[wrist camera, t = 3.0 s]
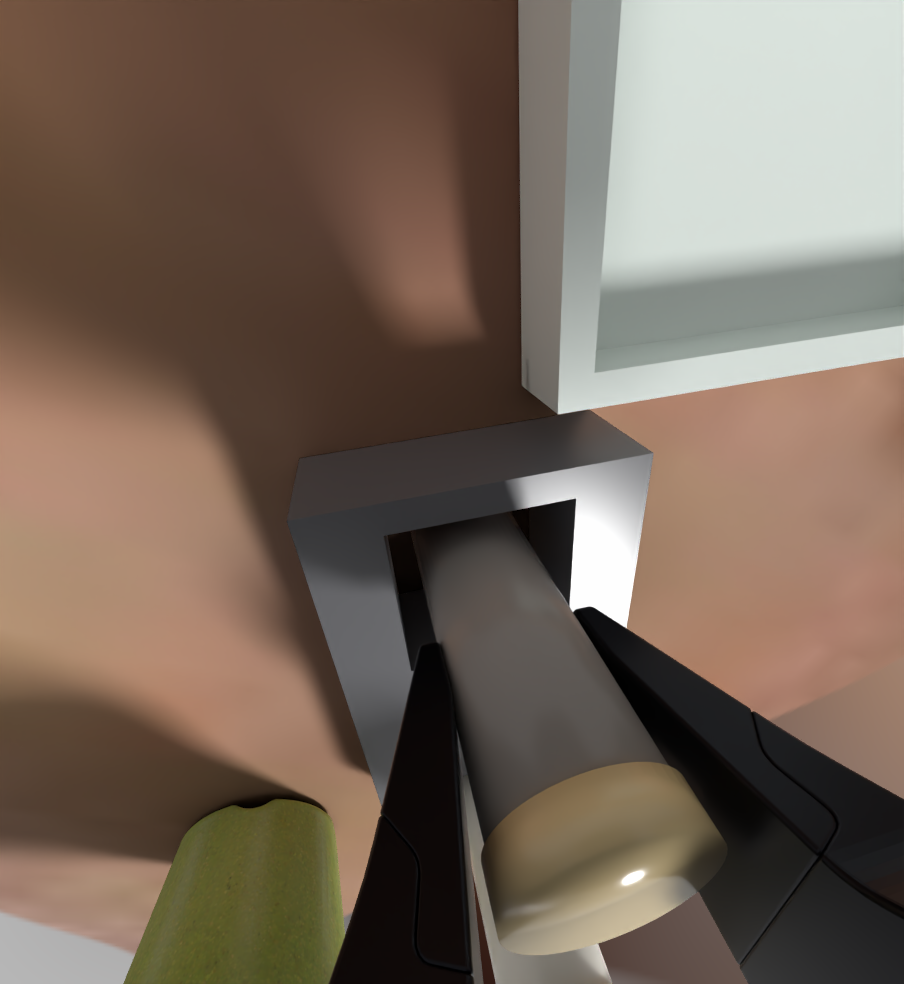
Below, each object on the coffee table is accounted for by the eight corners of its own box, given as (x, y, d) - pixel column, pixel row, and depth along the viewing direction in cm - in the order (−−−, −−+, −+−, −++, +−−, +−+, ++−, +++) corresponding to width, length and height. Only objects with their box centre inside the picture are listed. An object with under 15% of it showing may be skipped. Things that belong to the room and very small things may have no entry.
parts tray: (1126, -231, 8) (1368, -378, 6) (901, 327, 13) (997, 341, 11) (515, -266, 7) (587, -479, 5) (521, 385, 12) (558, 414, 10)
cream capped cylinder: (508, 468, 13) (754, 801, 5) (511, 555, 14) (701, 907, 7) (399, 488, 12) (492, 884, 5) (414, 576, 14) (501, 976, 6)
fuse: (515, 688, 18) (644, 1022, 10) (516, 734, 20) (628, 1053, 12) (437, 707, 17) (511, 1073, 10) (445, 753, 19) (514, 1097, 11)
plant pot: (278, 903, 22) (246, 1230, 15) (81, 870, 18) (-106, 1320, 10) (413, 806, 21) (452, 1122, 13) (234, 741, 16) (142, 1170, 9)
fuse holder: (589, 410, 12) (653, 453, 10) (566, 739, 21) (598, 810, 18) (299, 458, 11) (287, 520, 9) (394, 786, 19) (402, 869, 17)
